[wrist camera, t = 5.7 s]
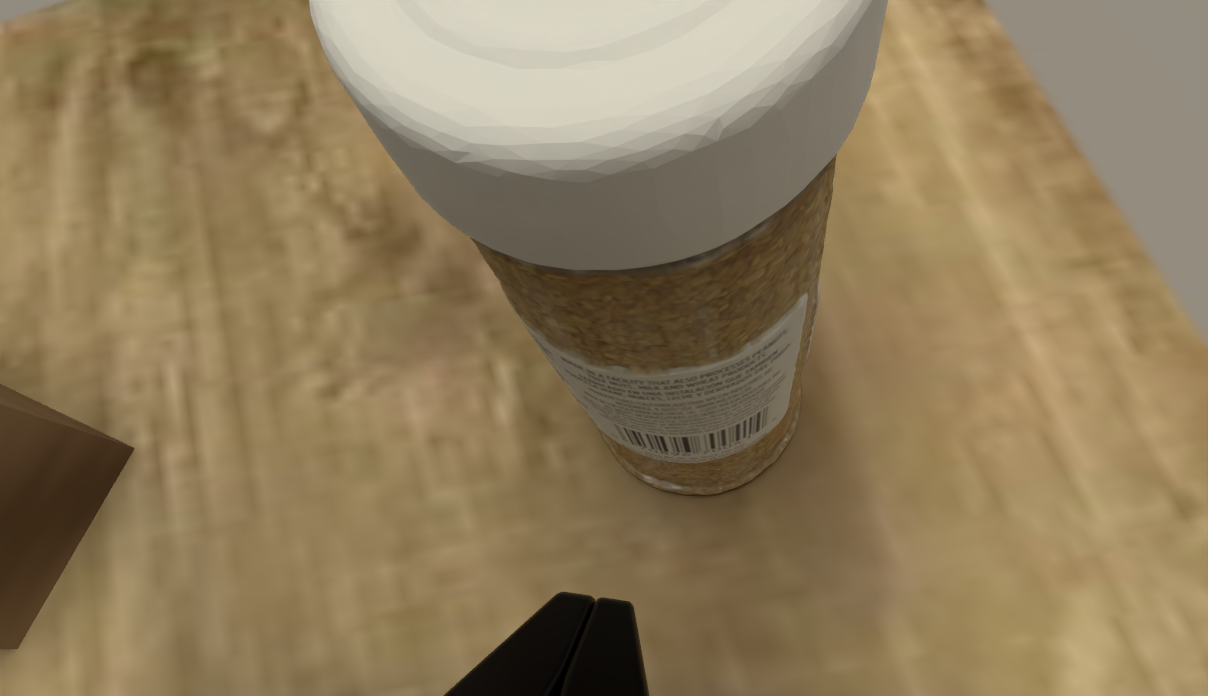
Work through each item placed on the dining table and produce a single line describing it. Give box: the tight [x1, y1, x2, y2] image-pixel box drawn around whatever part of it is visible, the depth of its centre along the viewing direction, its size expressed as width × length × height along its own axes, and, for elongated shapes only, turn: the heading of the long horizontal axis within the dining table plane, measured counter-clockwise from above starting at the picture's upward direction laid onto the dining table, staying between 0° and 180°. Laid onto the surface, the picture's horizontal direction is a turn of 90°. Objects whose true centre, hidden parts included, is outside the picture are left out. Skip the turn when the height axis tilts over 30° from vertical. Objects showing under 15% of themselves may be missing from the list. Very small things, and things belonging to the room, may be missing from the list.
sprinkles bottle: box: [309, 0, 888, 495], centre depth 12 cm, size 5×5×13 cm
